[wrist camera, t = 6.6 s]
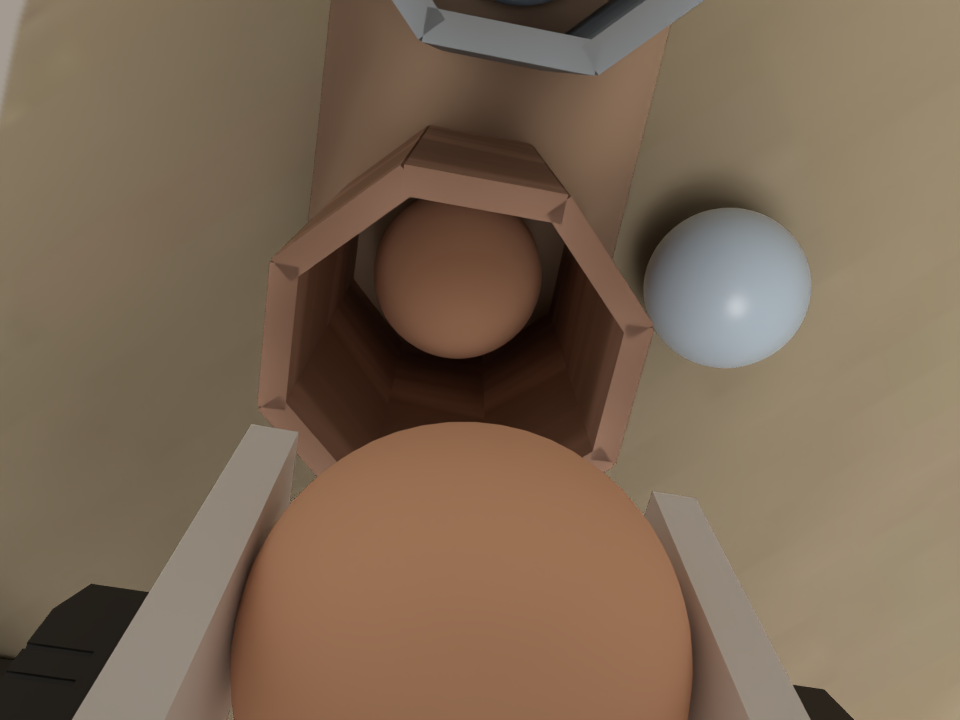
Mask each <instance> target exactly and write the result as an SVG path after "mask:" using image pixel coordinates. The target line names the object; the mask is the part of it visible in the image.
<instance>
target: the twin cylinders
mask: <svg viewBox="0 0 960 720" xmlns="http://www.w3.org/2000/svg"><path fill="white" fill-rule="evenodd" d="M702 1H704V0H553V1H550V2H546V3H543V4H537V5H530V6H516V5H509V4H504V3H500V2H496V1H493V0H331V6H330V16H329V26H328V36H327V45H326V55H325V65H324V74H323V84H322V94H321V104H320V113H319V123H318V133H317V142H316V152H315V162H314V172H313V181H312V191H311V201H310V210H309V220H308V223H307V224H306V225H305V226H304V227H303V228H302V229H301V230H300V231H299V232H298V233H297V234H296V235H295V236H294V237H293V238H292V239H291V240H290V241H289V242H288V243H287V244H286V245H285V246H284V247H283V248H282V249H281V250H280V251H279V252H278V253H277V254H276V255H275V256H274V257H273V258H271V259H272V260H271V261H270V263H269V275H268V287H267V298H266V310H265V321H264V333H263V344H262V356H261V368H260V379H259V391H258V402H257V406H259V409H258V410H259V411H260V412H261V413H262V414H263V416H264V417H265V418H266V419H267V420H268V421H269V422H270V424H271V425H272V426H273V427H274V428H278V429H284V430H290V431H296V432H299V433H298V441H297V449H296V453H297V454H298V455H299V457H300V458H301V459H302V460H303V461H304V462H305V463H306V465H307V466H308V467H309V468H310V469H311V470H312V471H313V472H314V474H315V475H316V476H317V477H318V476H319V475H320V474H321V473H322V472H324V471H325V470H327V469H328V468H329V467H331V466H332V465H333V464H335V463H336V462H338V461H339V460H340V459H342V458H343V457H345V456H347V455H348V454H350V453H352V452H353V451H355V450H357V449H359V448H361V447H363V446H365V445H366V444H368V443H370V442H372V441H374V440H377V439H379V438H382V437H385V436H387V435H390V434H392V433H395V432H398V431H402V430H406V429H410V428H414V427H418V426H422V425H430V424H438V423H446V422H480V423H489V424H497V425H504V426H508V427H512V428H516V429H521V430H525V431H528V432H531V433H534V434H537V435H539V436H542V437H545V438H547V439H550V440H552V441H554V442H556V443H558V444H560V445H562V446H564V447H566V448H568V449H570V450H572V451H573V452H575V453H576V454H578V455H579V456H581V457H582V458H584V459H585V460H586V461H588V462H589V463H591V464H592V465H594V466H595V467H597V468H598V469H599V470H601V471H602V472H605V471H607V470H609V469H610V468H612V467H614V466H615V465H614V463H617V460H618V456H619V453H620V449H621V446H622V442H623V438H624V435H625V431H626V428H627V424H628V420H629V417H630V413H631V410H632V406H633V403H634V399H635V395H636V392H637V388H638V385H639V381H640V377H641V374H642V370H643V367H644V363H645V360H646V356H647V352H648V349H649V345H650V342H651V338H652V335H653V331H654V328H653V323H652V321H651V320H650V318H649V317H648V315H647V314H646V312H645V311H644V309H643V307H642V306H641V304H640V303H639V301H638V300H637V298H636V297H635V295H634V293H633V292H632V290H631V289H630V287H629V286H628V284H627V282H626V281H625V279H624V278H623V276H622V275H621V273H620V272H619V270H618V268H617V267H616V265H615V264H614V262H613V261H612V258H613V254H614V250H615V246H616V242H617V238H618V234H619V230H620V226H621V222H622V218H623V214H624V210H625V206H626V202H627V198H628V194H629V190H630V186H631V182H632V178H633V174H634V170H635V166H636V162H637V158H638V154H639V150H640V146H641V142H642V138H643V134H644V130H645V126H646V122H647V118H648V114H649V110H650V106H651V102H652V98H653V94H654V90H655V86H656V82H657V78H658V74H659V70H660V66H661V62H662V58H663V54H664V50H665V46H666V42H667V38H668V34H669V30H670V26H671V23H673V22H674V21H676V20H677V19H678V18H680V17H681V16H683V15H684V14H685V13H687V12H688V11H690V10H691V9H693V8H694V7H695V6H697V5H698V4H700V3H701V2H702ZM418 199H424V200H430V201H435V202H441V203H446V204H452V205H457V206H463V207H468V208H474V209H479V210H485V211H490V212H496V213H501V214H507V215H512V216H518V217H520V218H521V220H522V221H523V222H524V224H525V225H526V226H527V227H528V229H529V231H530V232H531V234H532V236H533V238H534V240H535V243H536V245H537V248H538V251H539V255H540V261H541V269H542V282H541V289H540V294H539V297H538V301H537V304H536V306H535V308H534V311H533V313H532V315H531V317H530V318H529V320H528V321H527V323H526V324H525V326H524V327H523V328H522V329H521V331H520V332H519V333H518V334H517V335H516V336H515V337H514V338H513V339H511V340H510V341H509V342H507V343H506V344H504V345H503V346H501V347H499V348H498V349H496V350H494V351H492V352H489V353H487V354H484V355H480V356H477V357H471V358H463V359H453V358H444V357H440V356H435V355H432V354H430V353H427V352H424V351H422V350H420V349H418V348H416V347H415V346H413V345H412V344H410V343H409V342H407V341H406V340H405V339H404V338H403V337H402V336H400V335H399V334H398V333H397V332H396V330H395V329H394V328H393V327H392V326H391V324H390V323H389V322H388V320H387V319H386V317H385V315H384V313H383V311H382V309H381V307H380V304H379V301H378V298H377V295H376V290H375V285H374V264H375V259H376V254H377V250H378V247H379V244H380V241H381V239H382V237H383V235H384V233H385V231H386V229H387V228H388V227H389V225H390V224H391V222H392V221H393V220H394V219H395V218H396V217H397V216H398V215H399V213H400V212H402V211H403V210H404V209H405V208H406V207H408V206H409V205H410V204H412V203H413V202H415V201H417V200H418Z"/></svg>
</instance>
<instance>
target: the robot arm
mask: <svg viewBox="0 0 960 720" xmlns="http://www.w3.org/2000/svg"><path fill="white" fill-rule="evenodd" d="M298 433H299V432H296V431H290V430H284V429H278V428H272V427H266V426H260V425H254V424H251V425H250V427H249V429H248V430H247V432H246V434H245V435H244V437H243V439H242V440H241V442H240V444H239V445H238V447H237V448H236V450H235V452H234V453H233V455H232V457H231V458H230V460H229V462H228V463H227V465H226V467H225V468H224V470H223V472H222V473H221V475H220V476H219V478H218V480H217V481H216V483H215V485H214V486H213V488H212V490H211V491H210V493H209V495H208V496H207V498H206V500H205V501H204V503H203V504H202V506H201V508H200V509H199V511H198V513H197V514H196V516H195V518H194V519H193V521H192V523H191V524H190V526H189V528H188V529H187V531H186V532H185V534H184V536H183V537H182V539H181V541H180V542H179V544H178V546H177V547H176V549H175V551H174V552H173V554H172V556H171V557H170V559H169V560H168V562H167V564H166V565H165V567H164V569H163V570H162V572H161V574H160V575H159V577H158V579H157V580H156V582H155V584H154V585H153V587H152V589H151V590H150V592H143V591H136V590H129V589H123V588H116V587H109V586H102V585H95V584H90V585H89V586H87V587H86V588H84V589H83V590H81V591H80V592H78V593H76V594H75V595H73V596H72V597H70V598H69V599H67V600H66V601H64V602H63V603H61V604H60V605H58V606H57V607H55V608H54V609H52V611H51V612H50V613H49V615H48V616H47V617H46V619H45V620H44V621H43V623H42V624H41V625H40V626H39V628H38V629H37V630H36V632H35V633H34V634H33V636H32V637H31V638H30V640H29V641H28V642H27V646H26V648H25V649H22V650H21V651H20V653H19V654H18V655H17V657H16V658H15V659H14V660H7V659H1V658H0V720H226V719H227V716H228V714H229V711H230V708H231V706H232V702H231V685H230V652H231V645H232V639H233V633H234V627H235V621H236V615H237V610H238V606H239V602H240V599H241V596H242V593H243V590H244V587H245V584H246V581H247V578H248V576H249V573H250V570H251V567H252V564H253V562H254V560H255V558H256V557H257V555H258V553H259V551H260V549H261V548H262V546H263V544H264V542H265V540H266V539H267V537H268V535H269V533H270V532H271V530H272V528H273V526H274V525H275V523H276V522H277V521H278V519H279V518H280V517H281V516H282V514H283V513H284V512H285V510H286V509H287V508H288V507H289V505H290V498H291V490H292V482H293V473H294V465H295V457H296V449H297V441H298ZM644 517H645V518H646V519H647V520H648V521H649V523H650V525H651V526H652V528H653V530H654V531H655V533H656V535H657V537H658V538H659V540H660V542H661V543H662V545H663V547H664V549H665V551H666V553H667V555H668V557H669V559H670V561H671V564H672V566H673V569H674V571H675V574H676V576H677V579H678V581H679V584H680V588H681V591H682V595H683V598H684V602H685V606H686V611H687V615H688V620H689V625H690V631H691V643H692V659H693V681H692V691H691V700H690V708H689V716H688V720H854V719H853V718H852V717H851V716H850V715H849V714H848V713H847V712H846V711H845V710H844V709H843V708H842V707H841V706H840V705H839V704H838V703H837V702H836V701H835V700H834V699H833V698H832V697H831V696H830V695H829V694H828V693H827V692H826V691H825V690H824V689H817V688H810V687H804V686H797V685H792V683H791V681H790V679H789V677H788V675H787V673H786V671H785V669H784V667H783V665H782V664H781V662H780V660H779V658H778V656H777V654H776V652H775V650H774V648H773V646H772V644H771V642H770V640H769V638H768V637H767V635H766V633H765V631H764V629H763V627H762V625H761V623H760V621H759V619H758V617H757V615H756V613H755V611H754V610H753V608H752V606H751V604H750V602H749V600H748V598H747V596H746V594H745V592H744V590H743V588H742V586H741V584H740V583H739V581H738V579H737V577H736V575H735V573H734V571H733V569H732V567H731V565H730V563H729V561H728V559H727V557H726V555H725V554H724V552H723V550H722V548H721V546H720V544H719V542H718V540H717V538H716V536H715V534H714V532H713V530H712V528H711V527H710V525H709V523H708V521H707V519H706V517H705V515H704V513H703V511H702V509H701V507H700V505H699V503H698V501H697V500H696V498H692V497H686V496H680V495H674V494H668V493H662V492H656V491H652V493H651V497H650V500H649V503H648V506H647V509H646V512H645V516H644Z"/></svg>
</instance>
